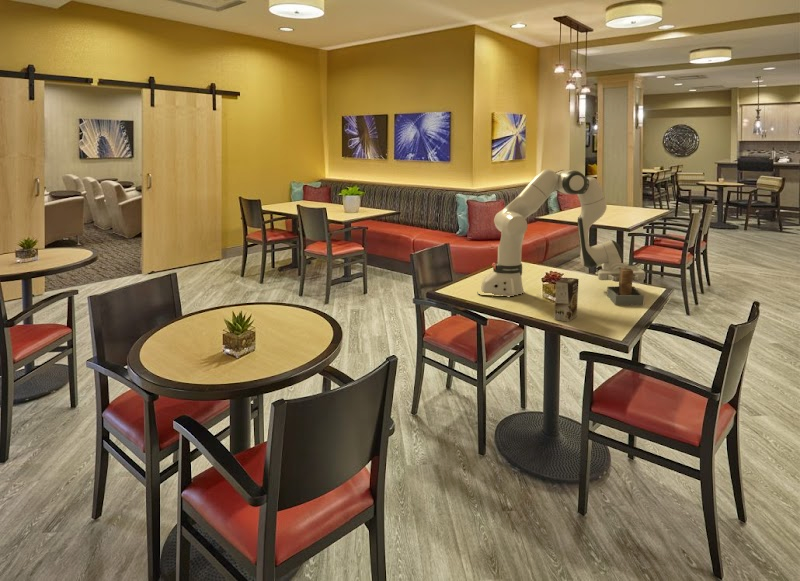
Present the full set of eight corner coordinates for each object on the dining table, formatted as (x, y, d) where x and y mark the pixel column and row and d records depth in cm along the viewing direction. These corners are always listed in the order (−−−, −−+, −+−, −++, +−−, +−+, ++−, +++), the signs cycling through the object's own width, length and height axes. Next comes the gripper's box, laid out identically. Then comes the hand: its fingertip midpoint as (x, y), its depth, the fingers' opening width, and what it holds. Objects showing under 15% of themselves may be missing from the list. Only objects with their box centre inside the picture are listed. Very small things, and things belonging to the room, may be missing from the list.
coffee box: (569, 322, 225) (571, 283, 220) (553, 319, 228) (555, 281, 224) (577, 316, 232) (579, 278, 227) (562, 313, 235) (563, 276, 231)
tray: (615, 305, 245) (616, 295, 244) (606, 295, 260) (607, 286, 259) (643, 305, 243) (644, 295, 242) (632, 295, 258) (633, 286, 257)
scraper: (621, 301, 247) (623, 272, 244) (616, 295, 256) (617, 267, 253) (633, 301, 247) (635, 272, 243) (627, 295, 255) (629, 267, 252)
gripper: (594, 265, 264) (601, 272, 250) (640, 265, 261) (649, 271, 248) (594, 278, 265) (600, 286, 252) (639, 278, 263) (648, 285, 249)
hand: (625, 279), depth 250 cm, fingers open, 8 cm apart
